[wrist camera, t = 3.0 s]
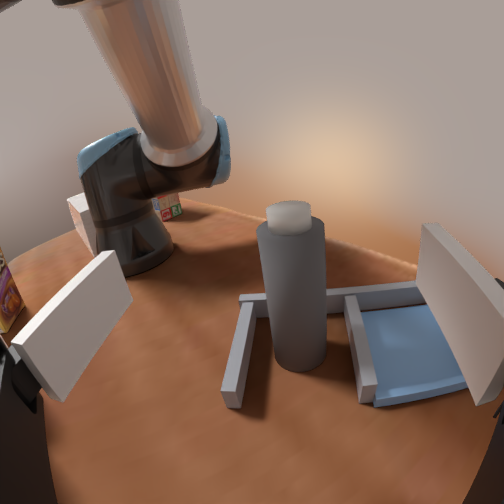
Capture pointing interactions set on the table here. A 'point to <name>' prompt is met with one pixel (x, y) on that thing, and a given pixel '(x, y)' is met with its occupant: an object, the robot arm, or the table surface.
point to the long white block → (83, 221)
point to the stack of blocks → (167, 206)
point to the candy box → (8, 297)
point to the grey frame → (367, 345)
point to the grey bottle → (295, 284)
